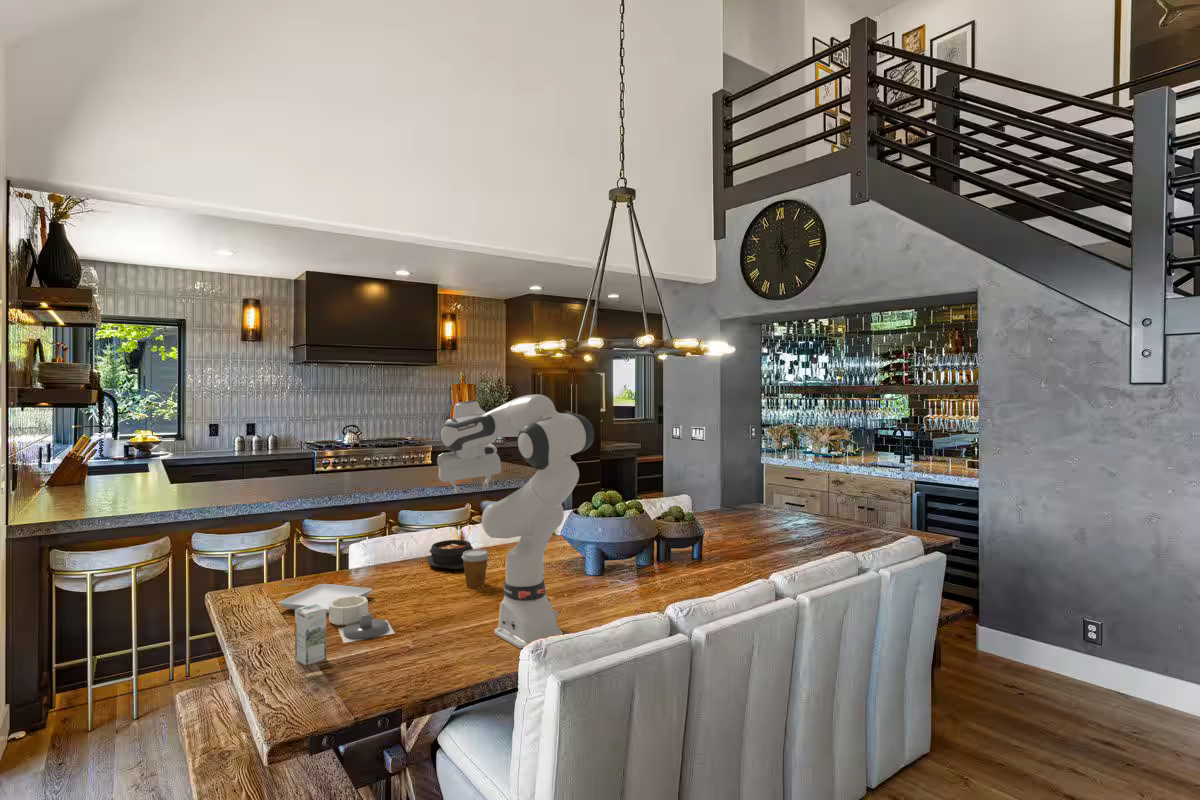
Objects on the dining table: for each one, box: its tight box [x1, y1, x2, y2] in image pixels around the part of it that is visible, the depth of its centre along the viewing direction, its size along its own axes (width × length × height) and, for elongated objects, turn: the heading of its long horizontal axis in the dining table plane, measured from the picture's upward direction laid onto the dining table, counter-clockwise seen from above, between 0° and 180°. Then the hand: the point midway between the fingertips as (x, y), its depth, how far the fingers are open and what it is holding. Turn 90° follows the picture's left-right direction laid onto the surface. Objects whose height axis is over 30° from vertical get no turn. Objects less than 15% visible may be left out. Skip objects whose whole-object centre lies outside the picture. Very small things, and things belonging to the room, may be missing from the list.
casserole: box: [426, 539, 474, 570], centre depth 263 cm, size 25×19×8 cm
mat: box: [337, 619, 396, 644], centre depth 193 cm, size 12×14×1 cm
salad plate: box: [277, 583, 372, 615], centre depth 219 cm, size 21×21×3 cm
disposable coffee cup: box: [462, 549, 490, 589], centre depth 237 cm, size 10×10×12 cm
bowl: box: [328, 596, 369, 626], centre depth 203 cm, size 11×11×6 cm
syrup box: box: [294, 604, 327, 666], centre depth 174 cm, size 6×6×14 cm
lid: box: [343, 612, 389, 640], centre depth 193 cm, size 12×12×5 cm
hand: (471, 490), depth 217 cm, fingers open, 8 cm apart
